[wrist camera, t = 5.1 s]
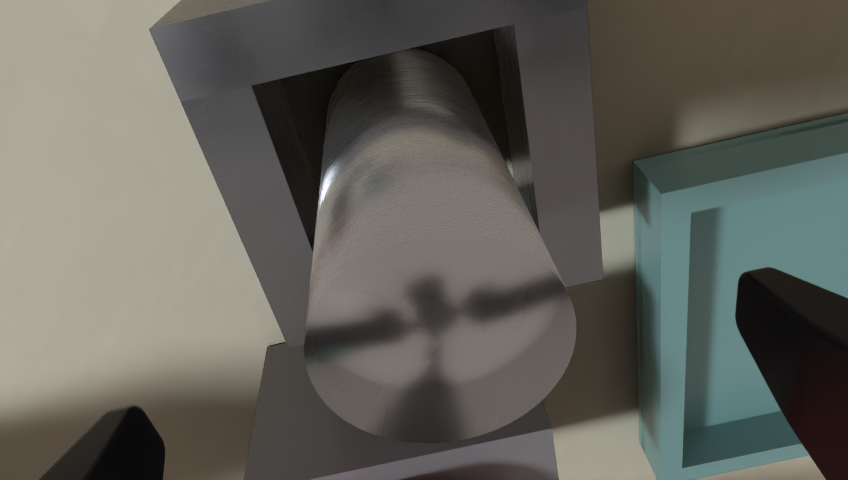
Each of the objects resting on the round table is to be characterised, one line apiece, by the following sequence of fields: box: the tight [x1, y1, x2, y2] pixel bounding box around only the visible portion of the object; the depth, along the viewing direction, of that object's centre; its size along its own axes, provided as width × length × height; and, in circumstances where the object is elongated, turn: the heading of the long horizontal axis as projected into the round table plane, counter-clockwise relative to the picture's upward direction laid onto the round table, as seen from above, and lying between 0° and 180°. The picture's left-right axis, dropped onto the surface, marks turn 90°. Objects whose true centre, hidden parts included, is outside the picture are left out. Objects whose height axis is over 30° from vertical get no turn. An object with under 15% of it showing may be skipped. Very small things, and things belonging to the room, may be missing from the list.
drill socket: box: [149, 0, 603, 348], centre depth 16 cm, size 8×8×3 cm
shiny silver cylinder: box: [304, 48, 577, 443], centre depth 13 cm, size 4×4×9 cm
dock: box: [244, 343, 559, 480], centre depth 20 cm, size 7×8×6 cm
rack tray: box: [633, 113, 848, 480], centre depth 20 cm, size 13×10×2 cm
